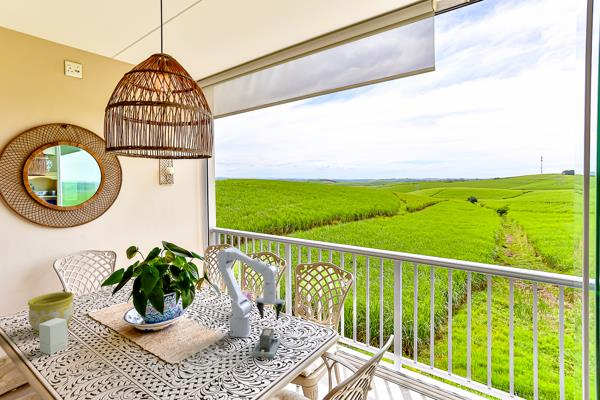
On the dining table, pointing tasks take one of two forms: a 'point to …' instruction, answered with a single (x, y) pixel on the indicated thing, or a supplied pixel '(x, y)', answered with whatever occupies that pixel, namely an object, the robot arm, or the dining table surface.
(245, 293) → the box
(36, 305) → the flowerpot
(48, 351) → the supplement box
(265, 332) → the block
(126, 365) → the dining table surface
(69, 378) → the dining table surface
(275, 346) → the pin tray
